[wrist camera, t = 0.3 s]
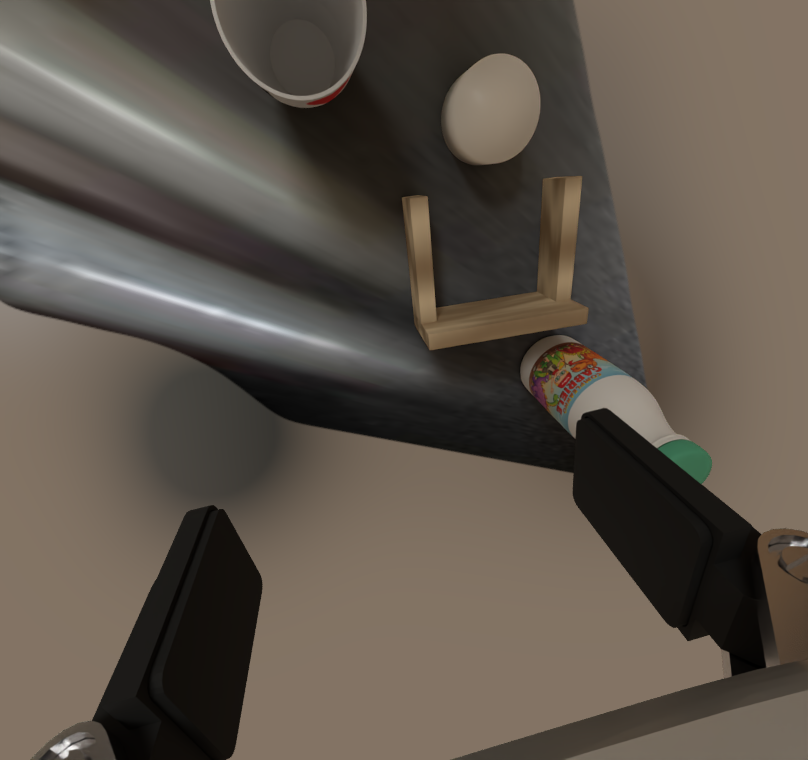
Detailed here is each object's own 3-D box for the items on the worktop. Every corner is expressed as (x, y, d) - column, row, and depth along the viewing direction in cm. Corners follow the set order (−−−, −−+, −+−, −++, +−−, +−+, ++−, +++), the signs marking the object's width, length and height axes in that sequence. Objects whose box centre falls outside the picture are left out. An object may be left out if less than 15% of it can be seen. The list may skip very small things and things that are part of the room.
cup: (254, 120, 30) (223, 94, 22) (238, -19, 27) (193, -118, 18) (357, 127, 32) (367, 105, 23) (355, -5, 28) (366, -90, 19)
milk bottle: (591, 343, 45) (756, 444, 28) (559, 398, 48) (690, 522, 30) (537, 324, 43) (680, 422, 25) (506, 384, 46) (615, 508, 28)
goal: (401, 197, 35) (416, 200, 29) (558, 176, 36) (604, 175, 30) (414, 325, 40) (429, 350, 34) (549, 303, 42) (586, 323, 36)
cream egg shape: (437, 72, 31) (451, 57, 28) (519, 64, 32) (543, 49, 28) (443, 169, 34) (455, 168, 31) (517, 160, 35) (538, 158, 32)
